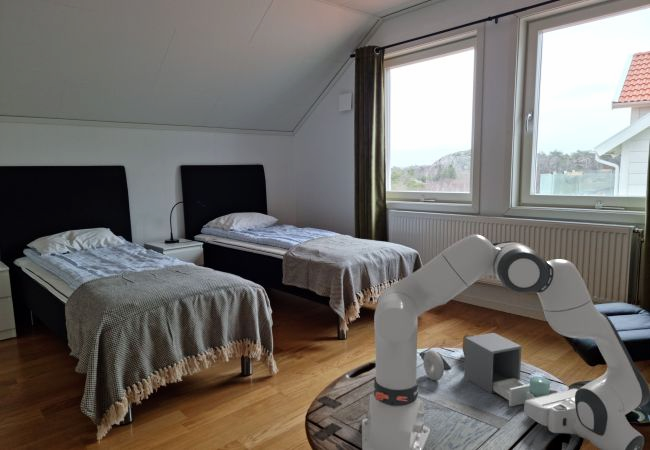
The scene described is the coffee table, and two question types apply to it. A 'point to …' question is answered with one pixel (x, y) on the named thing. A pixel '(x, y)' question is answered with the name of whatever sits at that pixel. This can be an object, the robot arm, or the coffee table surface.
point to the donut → (433, 365)
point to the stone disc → (464, 340)
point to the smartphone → (446, 366)
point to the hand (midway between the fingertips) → (536, 391)
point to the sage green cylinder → (539, 386)
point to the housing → (491, 360)
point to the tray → (512, 390)
